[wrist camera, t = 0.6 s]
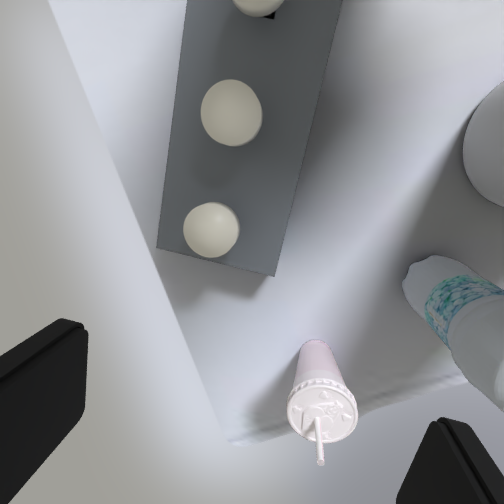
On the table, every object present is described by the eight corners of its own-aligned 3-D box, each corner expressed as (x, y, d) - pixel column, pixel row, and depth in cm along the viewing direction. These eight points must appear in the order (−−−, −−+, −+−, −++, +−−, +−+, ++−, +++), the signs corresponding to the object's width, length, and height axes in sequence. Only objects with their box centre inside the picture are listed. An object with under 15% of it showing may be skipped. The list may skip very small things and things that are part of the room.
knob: (208, 192, 31) (187, 198, 25) (252, 202, 30) (241, 211, 24) (201, 235, 32) (179, 250, 26) (243, 245, 32) (230, 263, 26)
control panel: (213, -36, 28) (196, -77, 23) (344, -13, 27) (354, -51, 23) (175, 236, 36) (156, 247, 31) (277, 261, 35) (274, 276, 30)
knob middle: (225, 94, 28) (205, 73, 22) (272, 103, 28) (266, 86, 22) (216, 144, 29) (196, 138, 23) (262, 154, 29) (253, 150, 23)
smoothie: (277, 350, 38) (267, 451, 24) (318, 319, 36) (330, 409, 22) (313, 386, 38) (322, 503, 25) (355, 356, 36) (388, 466, 23)
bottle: (395, 309, 34) (519, 489, 15) (396, 251, 33) (537, 369, 14) (461, 308, 33) (685, 498, 14) (466, 247, 32) (726, 369, 12)
